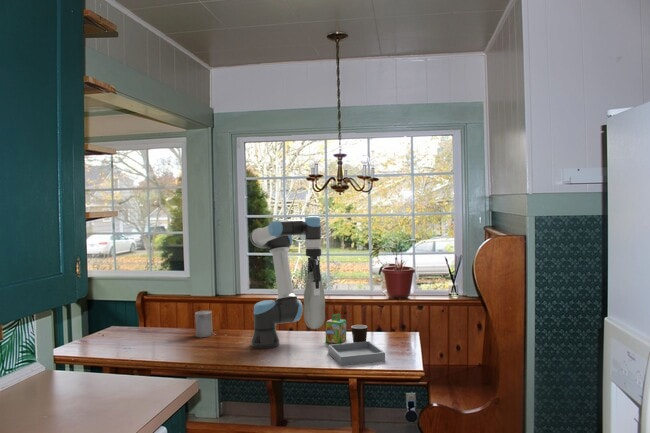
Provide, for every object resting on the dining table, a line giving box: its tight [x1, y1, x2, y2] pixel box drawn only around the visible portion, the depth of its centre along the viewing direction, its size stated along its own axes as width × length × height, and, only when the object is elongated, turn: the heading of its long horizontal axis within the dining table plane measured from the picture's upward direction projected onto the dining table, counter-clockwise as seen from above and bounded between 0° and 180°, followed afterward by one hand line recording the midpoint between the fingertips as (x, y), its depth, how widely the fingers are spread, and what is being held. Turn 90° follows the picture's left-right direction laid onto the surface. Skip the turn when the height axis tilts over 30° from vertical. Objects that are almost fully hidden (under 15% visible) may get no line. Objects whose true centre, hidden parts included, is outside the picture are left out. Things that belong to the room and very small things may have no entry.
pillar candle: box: [194, 309, 214, 338], centre depth 308 cm, size 10×10×15 cm
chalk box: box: [325, 313, 347, 344], centre depth 289 cm, size 9×9×15 cm
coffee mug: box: [350, 324, 368, 343], centre depth 281 cm, size 12×9×10 cm
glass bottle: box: [303, 271, 326, 330], centre depth 259 cm, size 10×10×28 cm
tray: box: [327, 340, 386, 366], centre depth 259 cm, size 22×22×4 cm
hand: (314, 293), depth 259 cm, fingers closed on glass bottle, 10 cm apart
